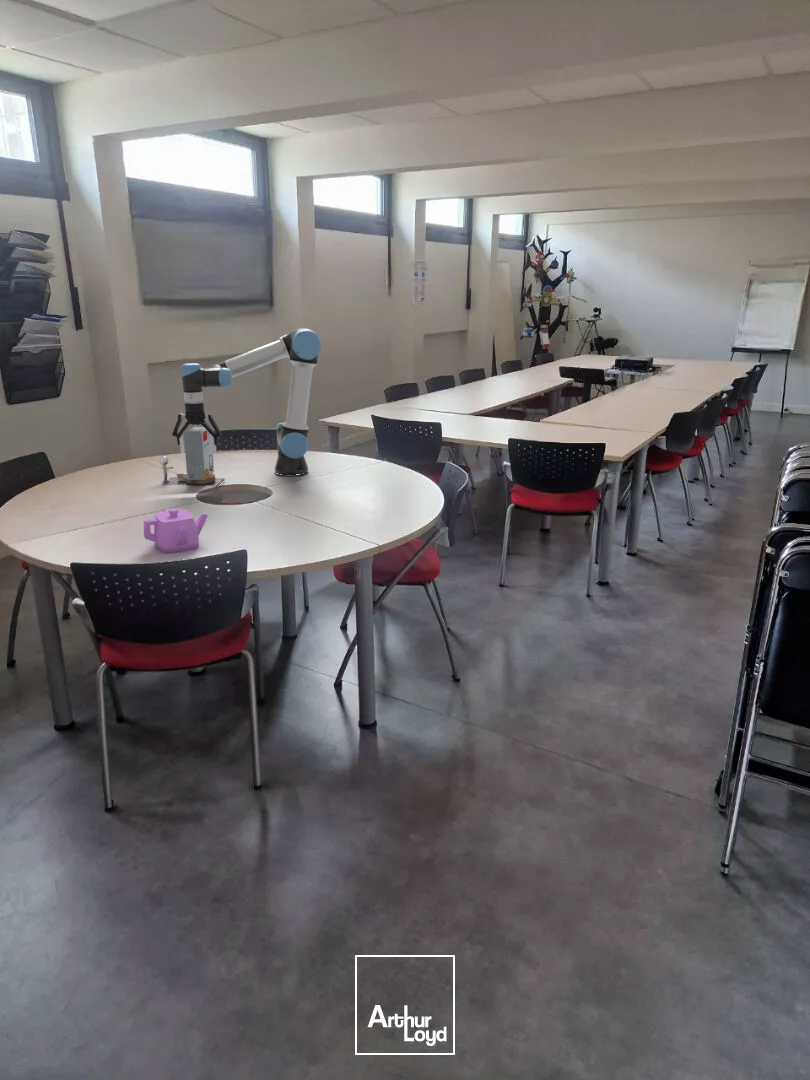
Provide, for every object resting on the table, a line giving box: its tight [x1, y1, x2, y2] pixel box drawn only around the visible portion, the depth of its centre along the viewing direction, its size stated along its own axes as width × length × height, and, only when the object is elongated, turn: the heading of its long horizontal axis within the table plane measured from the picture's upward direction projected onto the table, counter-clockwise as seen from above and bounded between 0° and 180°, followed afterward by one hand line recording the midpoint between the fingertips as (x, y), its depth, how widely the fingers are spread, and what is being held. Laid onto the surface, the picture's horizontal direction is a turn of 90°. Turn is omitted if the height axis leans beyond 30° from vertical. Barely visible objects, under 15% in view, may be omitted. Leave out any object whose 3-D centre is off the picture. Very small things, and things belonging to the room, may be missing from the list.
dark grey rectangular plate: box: [161, 476, 225, 489], centre depth 302 cm, size 24×12×2 cm, turn 89°
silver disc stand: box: [159, 456, 174, 484], centre depth 299 cm, size 5×2×11 cm, turn 108°
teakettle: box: [143, 508, 209, 555], centre depth 230 cm, size 17×17×12 cm
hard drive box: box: [183, 426, 215, 480], centre depth 298 cm, size 16×8×20 cm, turn 0°
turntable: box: [176, 472, 216, 484], centre depth 302 cm, size 16×12×3 cm
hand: (198, 452), depth 298 cm, fingers open, 13 cm apart
